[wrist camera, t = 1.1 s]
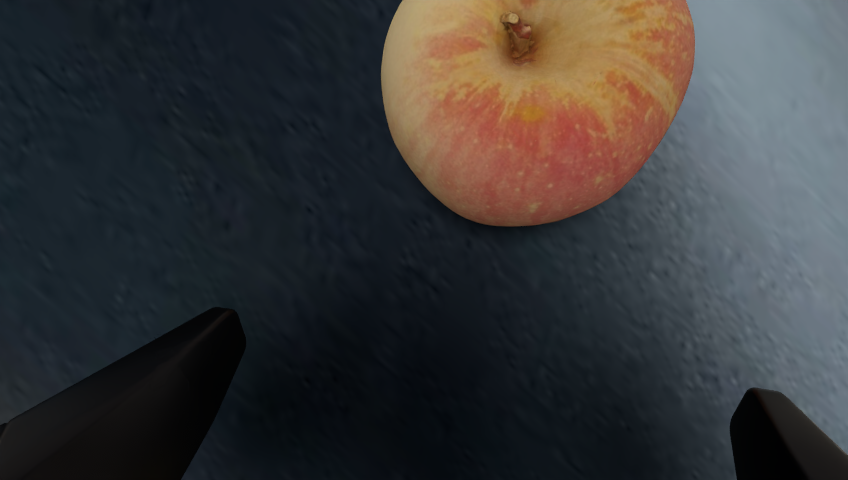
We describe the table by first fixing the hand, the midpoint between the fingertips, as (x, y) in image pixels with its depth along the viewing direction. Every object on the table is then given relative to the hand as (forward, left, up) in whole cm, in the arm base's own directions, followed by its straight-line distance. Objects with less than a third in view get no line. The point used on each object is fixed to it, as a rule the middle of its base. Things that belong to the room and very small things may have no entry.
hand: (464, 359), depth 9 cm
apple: (+4, -7, -11) cm, 13 cm away
